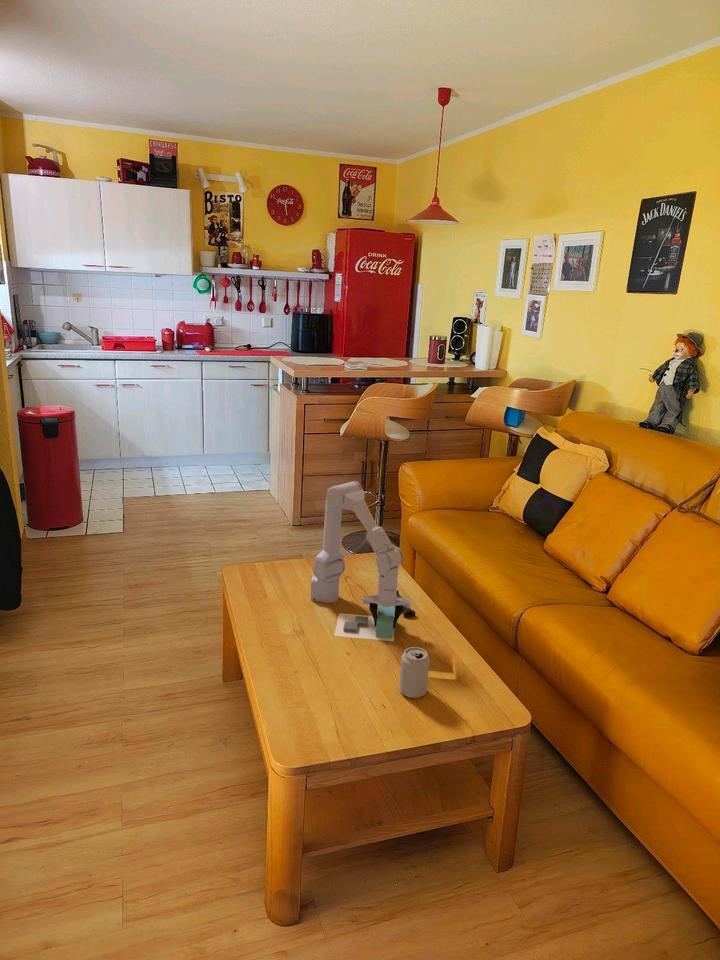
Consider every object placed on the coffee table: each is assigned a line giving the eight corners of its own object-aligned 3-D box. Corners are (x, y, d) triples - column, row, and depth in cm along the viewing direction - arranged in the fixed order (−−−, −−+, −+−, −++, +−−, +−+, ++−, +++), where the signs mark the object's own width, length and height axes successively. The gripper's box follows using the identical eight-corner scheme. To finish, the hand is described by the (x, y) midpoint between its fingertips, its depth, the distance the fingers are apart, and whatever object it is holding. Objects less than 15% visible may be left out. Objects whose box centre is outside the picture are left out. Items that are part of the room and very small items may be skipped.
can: (418, 703, 172) (422, 663, 168) (393, 693, 176) (396, 654, 172) (431, 689, 178) (435, 651, 174) (406, 680, 182) (410, 641, 178)
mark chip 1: (343, 631, 202) (343, 628, 201) (344, 624, 205) (344, 621, 205) (356, 632, 201) (356, 629, 201) (357, 626, 205) (357, 622, 205)
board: (333, 640, 199) (334, 635, 199) (339, 617, 213) (339, 613, 212) (393, 645, 198) (393, 641, 198) (394, 622, 212) (395, 618, 211)
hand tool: (415, 621, 213) (416, 608, 212) (403, 622, 212) (404, 609, 211) (396, 594, 231) (397, 582, 229) (385, 595, 229) (386, 583, 228)
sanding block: (375, 636, 200) (376, 622, 198) (377, 618, 210) (378, 604, 208) (392, 638, 199) (393, 623, 198) (393, 620, 210) (394, 606, 208)
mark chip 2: (354, 625, 205) (354, 622, 205) (355, 619, 209) (355, 616, 209) (367, 626, 205) (367, 623, 205) (368, 620, 209) (368, 617, 208)
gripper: (362, 590, 197) (360, 630, 201) (411, 594, 196) (408, 634, 200) (364, 579, 204) (362, 618, 208) (411, 583, 203) (408, 622, 207)
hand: (384, 625), depth 204 cm, fingers closed on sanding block, 5 cm apart
